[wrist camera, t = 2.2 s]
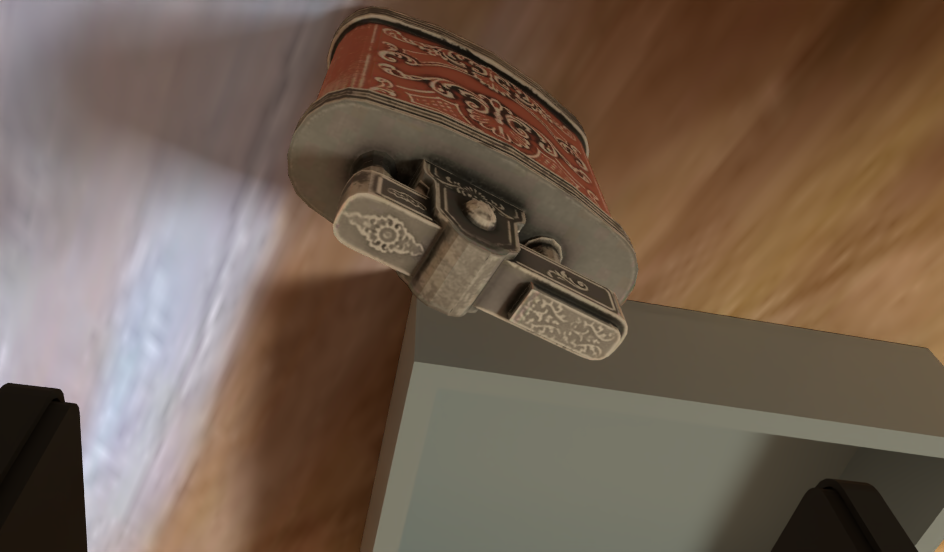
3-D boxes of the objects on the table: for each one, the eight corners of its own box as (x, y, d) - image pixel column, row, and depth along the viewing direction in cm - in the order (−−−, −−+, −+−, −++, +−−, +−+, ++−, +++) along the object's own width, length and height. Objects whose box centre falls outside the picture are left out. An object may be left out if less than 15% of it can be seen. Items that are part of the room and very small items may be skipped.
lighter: (309, 84, 22) (231, 266, 14) (363, -24, 21) (311, 106, 12) (545, 209, 25) (601, 429, 16) (608, 120, 23) (706, 311, 15)
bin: (928, 348, 28) (1014, 447, 24) (766, 601, 36) (810, 710, 32) (418, 266, 26) (414, 361, 21) (358, 557, 33) (346, 670, 29)
